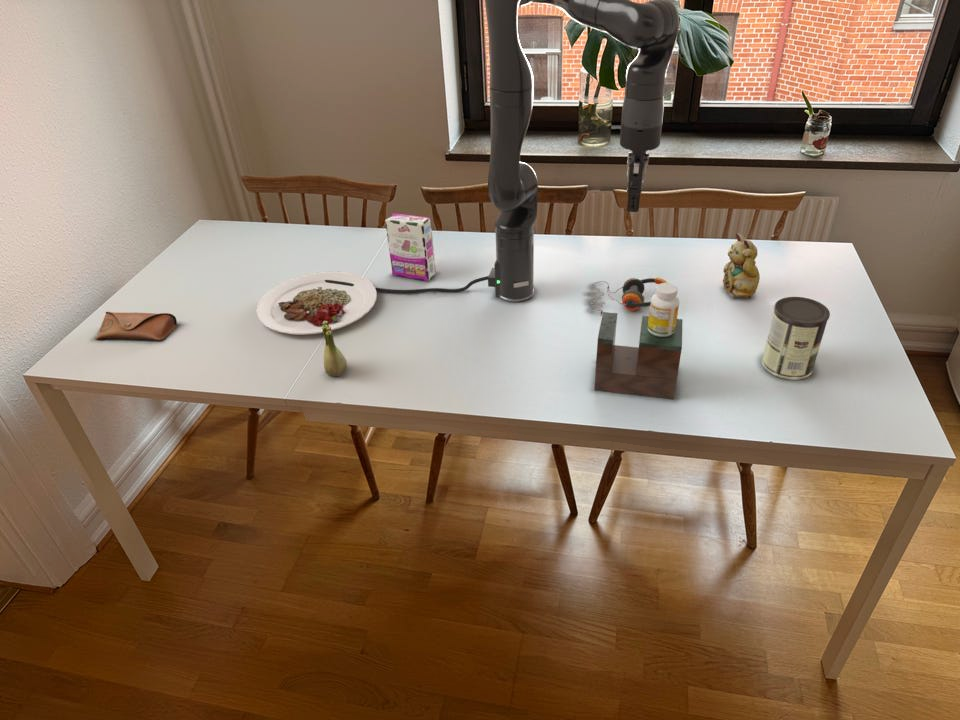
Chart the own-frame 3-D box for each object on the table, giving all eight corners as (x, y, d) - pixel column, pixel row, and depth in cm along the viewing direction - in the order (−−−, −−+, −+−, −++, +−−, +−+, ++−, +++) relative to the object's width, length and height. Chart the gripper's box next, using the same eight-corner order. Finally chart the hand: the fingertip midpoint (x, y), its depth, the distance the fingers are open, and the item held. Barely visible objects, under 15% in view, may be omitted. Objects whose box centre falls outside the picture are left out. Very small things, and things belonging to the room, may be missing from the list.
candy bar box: (436, 273, 186) (431, 217, 176) (428, 282, 182) (423, 225, 172) (400, 267, 189) (393, 212, 180) (391, 275, 186) (384, 219, 176)
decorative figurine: (714, 285, 174) (724, 230, 165) (744, 280, 176) (755, 226, 167) (734, 304, 167) (745, 248, 158) (765, 298, 168) (778, 243, 159)
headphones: (587, 274, 176) (667, 262, 170) (591, 291, 179) (670, 281, 173) (582, 308, 163) (668, 297, 157) (586, 327, 166) (671, 317, 159)
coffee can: (792, 347, 151) (807, 292, 143) (823, 374, 143) (841, 317, 135) (751, 357, 149) (764, 301, 141) (780, 384, 141) (796, 327, 133)
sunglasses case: (91, 339, 165) (90, 311, 165) (109, 337, 172) (108, 311, 172) (162, 340, 164) (161, 312, 163) (178, 339, 171) (177, 312, 170)
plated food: (320, 267, 191) (318, 257, 189) (401, 296, 177) (400, 284, 175) (233, 317, 172) (229, 305, 170) (316, 353, 157) (313, 341, 155)
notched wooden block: (594, 390, 142) (597, 338, 134) (599, 362, 150) (602, 311, 142) (673, 399, 139) (682, 346, 131) (674, 370, 146) (682, 319, 139)
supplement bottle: (657, 340, 133) (662, 297, 127) (641, 326, 137) (646, 284, 131) (680, 333, 135) (687, 291, 129) (664, 320, 139) (670, 278, 133)
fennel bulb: (330, 363, 154) (320, 318, 147) (351, 364, 153) (342, 319, 146) (322, 379, 149) (312, 333, 142) (344, 380, 149) (335, 334, 142)
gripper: (624, 108, 134) (618, 187, 144) (618, 132, 123) (612, 216, 133) (663, 109, 133) (654, 189, 142) (661, 133, 121) (651, 218, 131)
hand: (634, 202), depth 137 cm, fingers open, 8 cm apart
